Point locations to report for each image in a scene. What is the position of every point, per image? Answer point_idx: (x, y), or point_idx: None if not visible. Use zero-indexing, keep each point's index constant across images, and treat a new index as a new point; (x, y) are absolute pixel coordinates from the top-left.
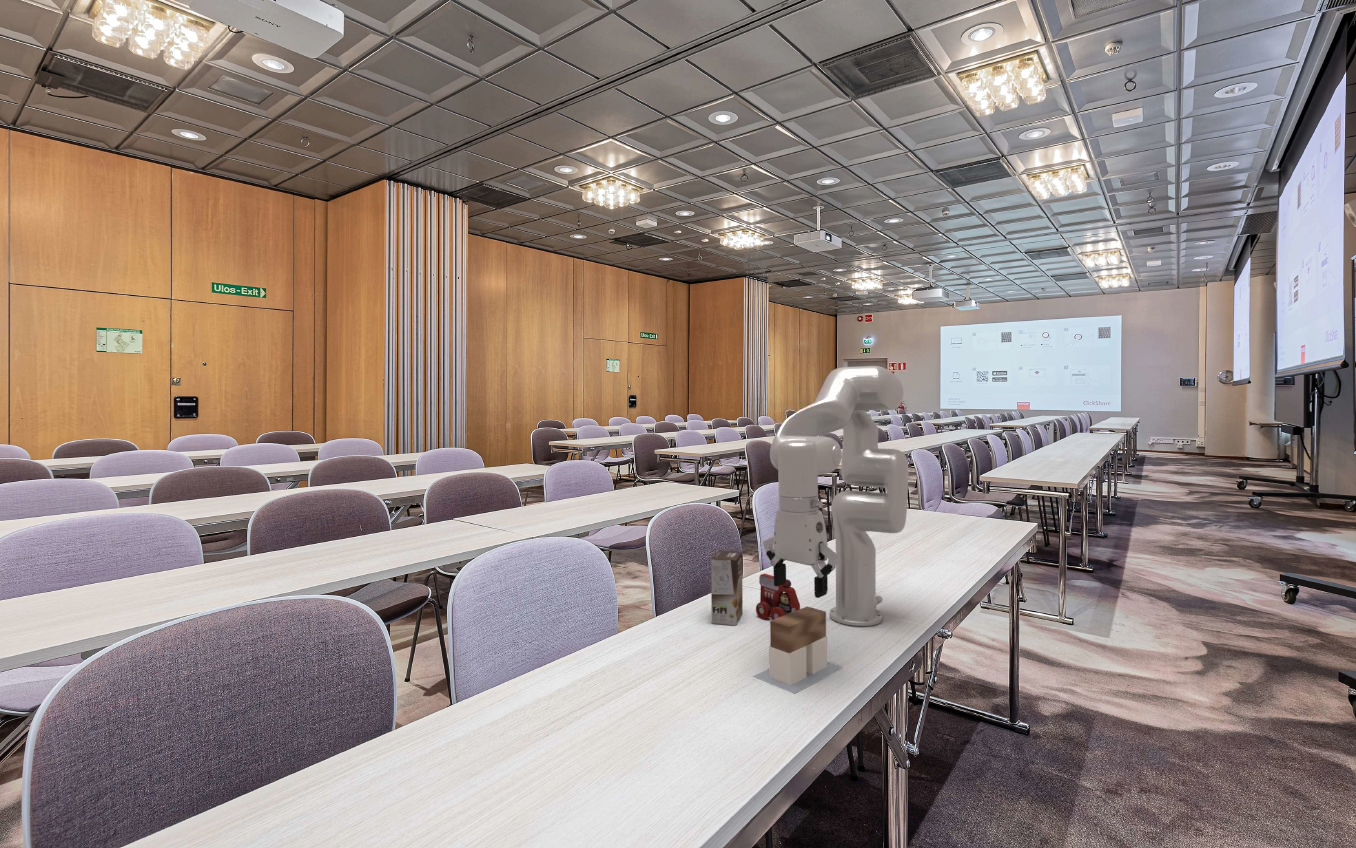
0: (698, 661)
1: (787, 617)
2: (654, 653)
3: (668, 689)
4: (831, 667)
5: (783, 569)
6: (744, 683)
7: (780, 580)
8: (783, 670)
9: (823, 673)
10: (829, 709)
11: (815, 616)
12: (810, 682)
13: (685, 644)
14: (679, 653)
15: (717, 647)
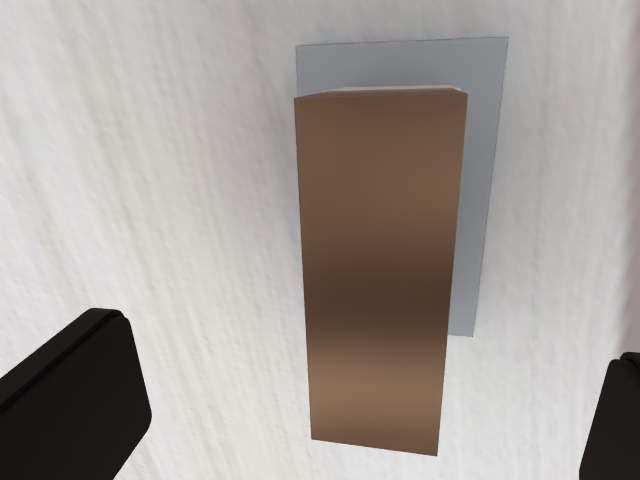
0: (124, 311)
1: (341, 356)
2: (28, 344)
3: (210, 455)
4: (466, 79)
5: (21, 468)
6: (303, 336)
7: (117, 415)
8: None
9: (469, 153)
10: (590, 316)
11: (456, 228)
12: (471, 246)
13: (10, 250)
14: (56, 305)
15: (71, 201)
